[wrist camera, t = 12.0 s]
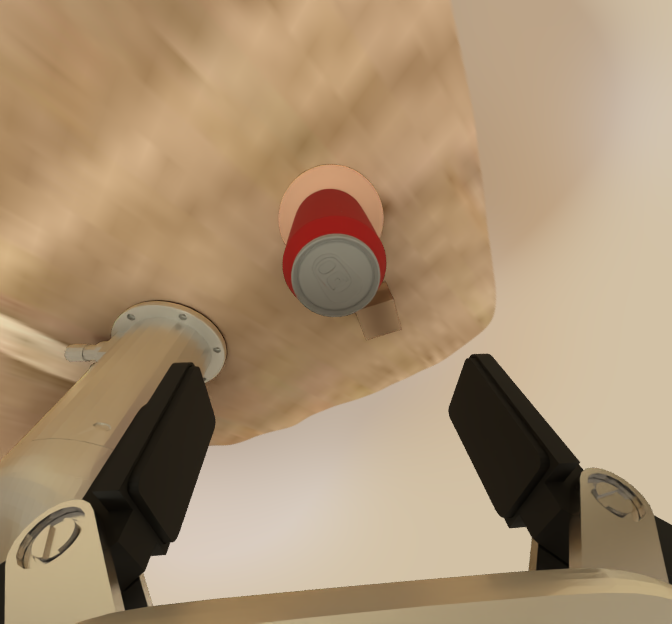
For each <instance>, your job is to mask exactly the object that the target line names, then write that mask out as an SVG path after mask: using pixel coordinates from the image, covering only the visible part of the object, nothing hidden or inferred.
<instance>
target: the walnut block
mask: <svg viewBox="0 0 672 624" xmlns="http://www.w3.org/2000/svg"><path fill="white" fill-rule="evenodd" d="M356 315H357V318H358V320H359V323H360V326H361V328H362V331H363V334H364V336H365V339H366V340H369V339H372V338H375V337H379V336H382V335H385V334H388V333H392V332H395V331H398V330H402V328H401V324H400V321H399V317H398V314H397V310H396V306H395V303H394V299H393V297H392V295H391V292H390V290H389V288H388V286H387V283H386V281H385V282H382V283H381V285H380V287H379V289H378V290H377V292H376V294H375V296H374V297H373V299H372V300H371V301H370V302H369V303H368V304H367V305H366V306H365V307H364V308H362V309H361V310H359V311H357V312H356Z"/></svg>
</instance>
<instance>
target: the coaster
mask: <svg viewBox="0 0 672 624" xmlns="http://www.w3.org/2000/svg"><path fill="white" fill-rule="evenodd" d="M323 189H337V190H341V191H344V192H346V193H348V194H350V195H351V196H352V197H354V198H355V199H356V200H357V202H358V203H359V204H360V206H361V207H362V209H363V210H364V212H365V214H366V215H367V217H368V219H369V220H370V222H371V224H372V226H373V228H374V229H375V231H376V233H377V235H378V237H379V239H380V236H381V233H382V229H383V220H384V216H383V208H382V203H381V201H380V198H379V195H378V194H377V192H376V190H375V188H374V187H373V186H372V184H371V183H370V182H369V181H368V180H367V179H366V178H365V177H364V176H363V175H361V174H360V173H358V172H357V171H355V170H353V169H351V168H348V167H345V166H341V165H334V164H328V165H321V166H316V167H314V168H311V169H309V170H307V171H305V172H303V173H302V174H301V175H299V176H298V177H297V178H296V179H295V180H294V181H293V182H292V183H291V184H290V186H289V187H288V189H287V190H286V192H285V194H284V196H283V198H282V201H281V204H280V208H279V229H280V233H281V236H282V239H283V241H284V243H285V245H286V244H287V240H288V237H289V233H290V230H291V227H292V224H293V221H294V218H295V215H296V212H297V210H298V208H299V206H300V205H301V203H302V202H303V201H304V200H305V199H306V198H307V197H308V196H309V195H311V194H313V193H314V192H317V191H319V190H323Z"/></svg>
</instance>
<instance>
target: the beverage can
mask: <svg viewBox="0 0 672 624" xmlns="http://www.w3.org/2000/svg"><path fill="white" fill-rule="evenodd" d="M385 271H386V255H385V250H384V247H383V245H382V243H381V241H380V239H379V237H378V235H377V233H376V231H375V229H374V228H373V226H372V224H371V222H370V220H369V219H368V217H367V215H366V214H365V212H364V210H363V209H362V207H361V206H360V204H359V203H358V202H357V200H356V199H355V198H354V197H352V196H351V195H350V194H348V193H346V192H344V191H341V190H337V189H323V190H319V191H317V192H314V193H313V194H311V195H309V196H308V197H307V198H306V199H305V200H304V201H303V202H302V203H301V205H300V206H299V208H298V210H297V212H296V215H295V218H294V221H293V224H292V227H291V230H290V233H289V237H288V240H287V244H286V248H285V251H284V255H283V274H284V278H285V281H286V283H287V285H288V287H289V289H290V290H291V292H292V293H293V294H294V296H295V297H296V298H297V299H298V300H299V301H300V302H301V303H302V304H303V305H304V306H305V307H306V308H308V309H309V310H311V311H312V312H315V313H317V314H319V315H323V316H328V317H342V316H347V315H350V314H353V313H355V312H357V311H359V310H361V309H362V308H364V307H365V306H366V305H367V304H368V303H369V302H370V301H371V300H372V299H373V297H374V296H375V294H376V292H377V290H378V289H379V287H380V285H381V283H382V281H383V279H384V276H385Z"/></svg>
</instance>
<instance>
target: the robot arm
mask: <svg viewBox="0 0 672 624" xmlns="http://www.w3.org/2000/svg"><path fill="white" fill-rule="evenodd" d="M226 353H227V350H226V344H225V341H224V339H223V337H222V335H221V333H220V332H219V330H218V329H217V328H216V327H215V326H214V325H213V324H212V322H211V321H209V320H208V319H207V318H205V317H204V316H203V315H201V314H200V313H198V312H196V311H194V310H192V309H190V308H188V307H185V306H182V305H180V304H175V303H171V302H164V301H150V302H143V303H140V304H136V305H134V306H132V307H130V308H128V309H127V310H126V311H125V312H123V313H122V314H121V315H120V316H119V317H118V318H117V320H116V321H115V322H114V325H113V327H112V332H111V339H110V340H109V341H102V342H100V343H98V344H97V345H92V344H72V345H69V346H68V347H67V348H66V350H65V358H66V360H68V361H69V362H73V361H92V360H96V363H94V364H92V365H91V366H90V368H89V370H88V371H87V372H86V373H85V375H84V376H83V377H82V378H81V379H80V380H79V381H78V382H77V383H76V384H75V385H74V386H73V387H72V388H71V389H70V390H69V391H68V392H67V393H66V394H65V395H64V396H63V397H62V398H61V399H60V400H59V401H58V402H57V403H56V404H55V405H54V406H53V407H52V408H51V409H50V411H49V412H48V413H47V414H46V415H45V416H44V417H43V418H42V419H41V420H40V421H39V422H38V423H37V424H36V425H35V426H34V427H33V428H32V429H31V430H30V431H29V432H28V433H27V434H26V435H25V436H24V437H23V438H22V439H21V440H20V441H19V442H18V443H17V444H16V445H15V447H14V448H13V449H12V450H11V451H10V452H9V453H8V454H7V455H6V456H5V457H4V458H3V459H2V460H1V461H0V624H672V525H671V524H669V523H667V522H665V521H663V520H661V519H660V518H658V517H656V516H654V514H653V512H652V509H651V507H650V505H649V504H648V502H647V501H646V500H645V498H644V497H643V496H642V495H641V494H640V493H639V492H638V491H637V490H636V489H635V488H634V487H633V486H632V485H631V484H629V483H628V482H627V481H625V480H624V479H622V478H621V477H619V476H617V475H615V474H614V473H611V472H609V471H606V470H603V469H599V468H587V469H585V470H583V469H582V468H581V467H580V465H579V463H580V462H579V460H578V459H577V458H576V457H575V456H574V455H573V453H572V452H571V451H570V449H569V448H568V447H567V446H566V445H565V443H564V442H563V441H562V440H561V439H560V437H559V436H558V435H557V434H556V433H555V431H554V430H553V429H552V428H551V427H550V425H549V424H548V423H547V422H546V421H545V419H544V418H543V417H542V416H541V415H540V414H539V412H538V411H537V410H536V409H535V407H534V406H533V405H532V404H531V403H530V401H529V400H528V399H527V398H526V396H525V395H524V394H523V393H522V392H521V390H520V389H519V388H518V387H517V386H516V385H515V383H514V382H513V381H512V380H511V379H510V377H509V376H508V375H507V374H506V372H505V371H504V370H503V369H502V368H501V366H500V365H499V364H498V363H497V362H496V360H495V359H494V358H493V357H492V356H491V355H490V354H472V355H471V356H470V357H469V358H467V359H466V360H465V363H464V365H463V368H462V371H461V374H460V377H459V380H458V383H457V385H456V388H455V391H454V394H453V397H452V400H451V403H450V406H449V416H450V419H451V421H452V423H453V425H454V427H455V429H456V431H457V433H458V435H459V437H460V439H461V441H462V443H463V445H464V447H465V449H466V451H467V453H468V455H469V457H470V459H471V461H472V463H473V465H474V467H475V469H476V471H477V473H478V475H479V477H480V479H481V481H482V483H483V485H484V487H485V489H486V492H487V494H488V496H489V498H490V500H491V502H492V504H493V506H494V507H495V510H496V511H497V513H498V514H499V515H500V516H501V517H503V518H504V519H505V521H506V523H507V525H508V527H509V528H518V527H527V529H528V531H529V533H530V535H531V536H532V542H531V551H530V561H529V571H522V572H509V573H498V574H485V575H474V576H462V577H450V578H438V579H427V580H415V581H405V582H394V583H382V584H370V585H359V586H349V587H337V588H326V589H315V590H304V591H295V592H283V593H273V594H262V595H252V596H241V597H232V598H220V599H211V600H202V601H193V602H185V603H176V604H168V605H158V606H153V604H152V601H151V597H150V594H149V591H148V587H147V584H146V581H145V577H144V574H143V572H144V571H145V569H146V567H147V564H148V562H149V559H150V556H157V555H166V553H167V550H168V547H169V544H170V542H174V541H175V540H176V539H177V537H178V534H179V531H180V529H181V525H182V523H183V520H184V517H185V514H186V511H187V508H188V505H189V502H190V499H191V496H192V493H193V490H194V487H195V485H196V481H197V479H198V475H199V473H200V470H201V467H202V464H203V461H204V458H205V455H206V452H207V449H208V446H209V443H210V440H211V437H212V434H213V431H214V428H215V416H214V412H213V409H212V406H211V403H210V399H209V396H208V393H207V389H206V386H205V383H206V382H208V381H210V380H211V379H213V378H214V377H216V375H217V374H218V373H219V372H220V371H221V369H222V367H223V365H224V362H225V360H226Z"/></svg>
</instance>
